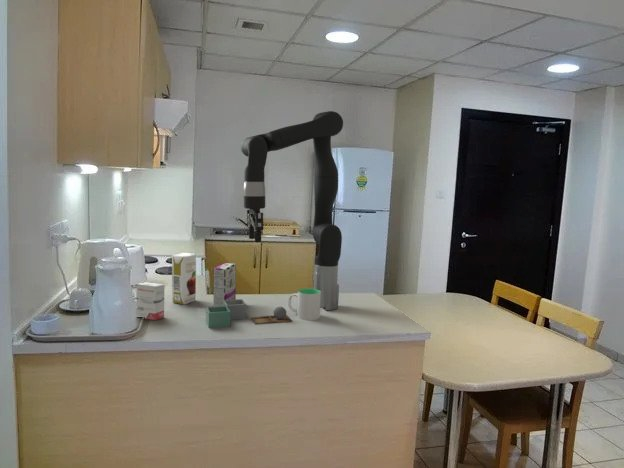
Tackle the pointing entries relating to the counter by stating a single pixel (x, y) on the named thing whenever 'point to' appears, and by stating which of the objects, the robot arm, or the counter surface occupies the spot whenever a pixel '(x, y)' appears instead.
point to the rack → (269, 319)
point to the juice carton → (183, 278)
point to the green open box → (217, 316)
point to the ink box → (150, 300)
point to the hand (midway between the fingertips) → (254, 240)
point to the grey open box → (236, 308)
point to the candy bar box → (224, 283)
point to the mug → (307, 304)
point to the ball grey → (279, 313)
